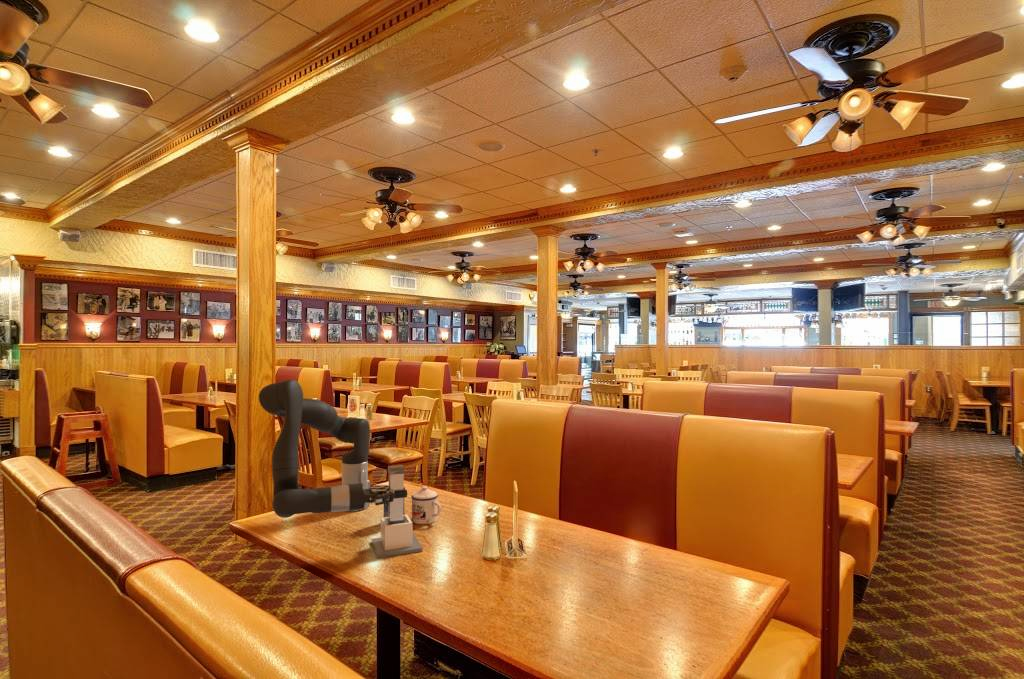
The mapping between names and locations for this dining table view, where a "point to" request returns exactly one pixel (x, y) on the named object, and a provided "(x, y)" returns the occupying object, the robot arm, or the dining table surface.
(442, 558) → the dining table surface
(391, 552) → the white square socket
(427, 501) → the teacup with lid
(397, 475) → the white grey rectangular bar
